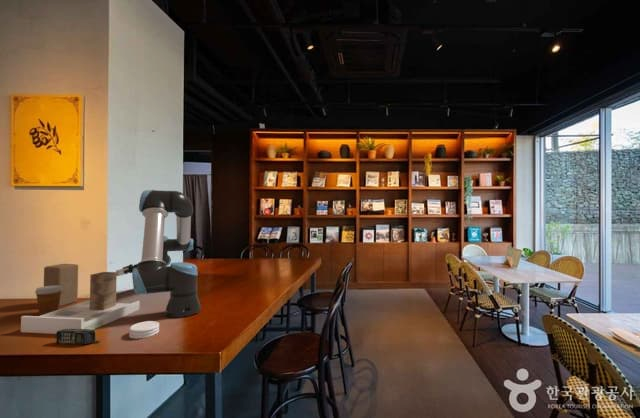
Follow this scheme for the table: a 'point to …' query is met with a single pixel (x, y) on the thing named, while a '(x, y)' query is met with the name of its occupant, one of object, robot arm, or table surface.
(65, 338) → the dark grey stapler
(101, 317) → the board
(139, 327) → the coaster
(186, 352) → the table surface
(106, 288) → the walnut block
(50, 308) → the disposable coffee cup
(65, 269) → the wooden block
